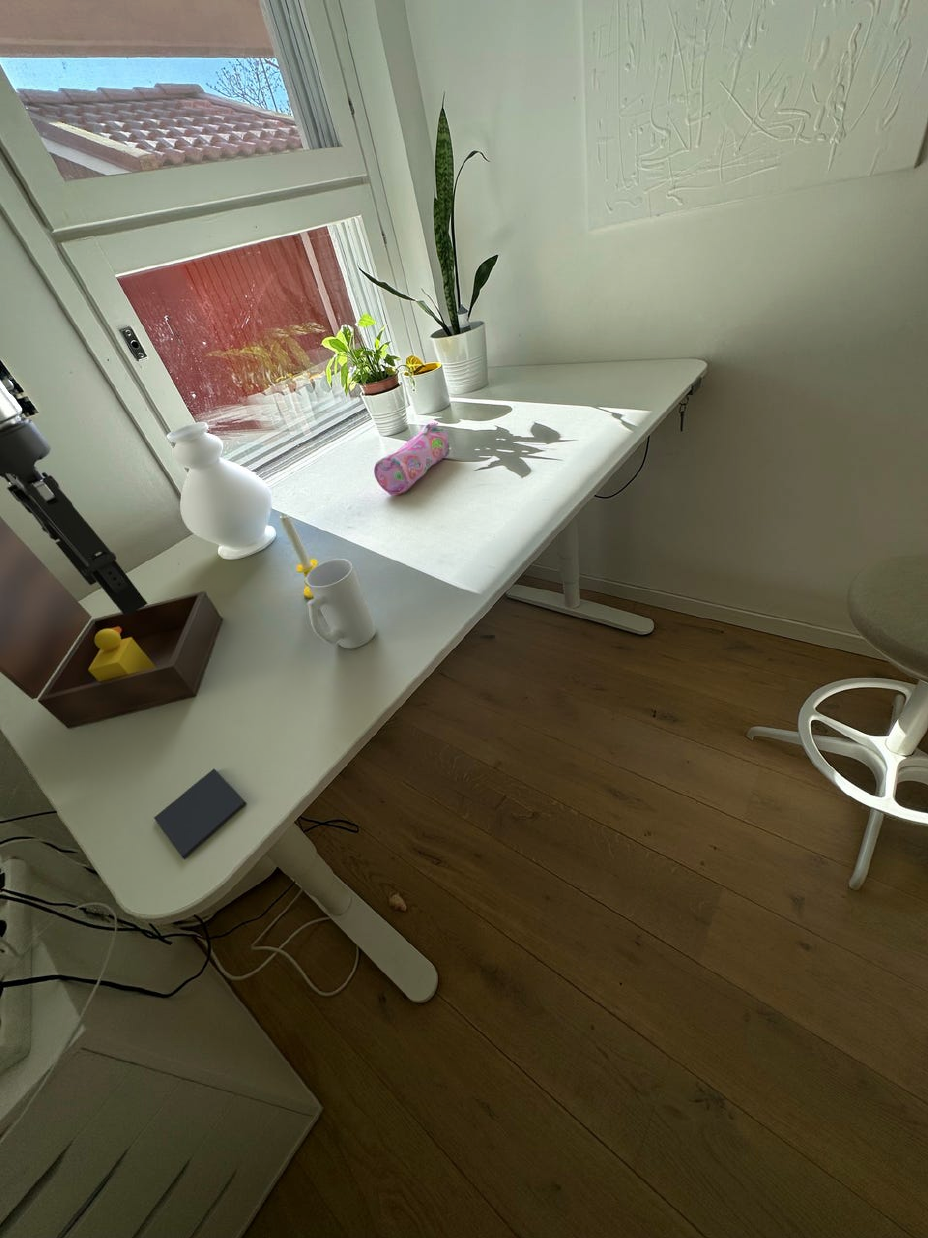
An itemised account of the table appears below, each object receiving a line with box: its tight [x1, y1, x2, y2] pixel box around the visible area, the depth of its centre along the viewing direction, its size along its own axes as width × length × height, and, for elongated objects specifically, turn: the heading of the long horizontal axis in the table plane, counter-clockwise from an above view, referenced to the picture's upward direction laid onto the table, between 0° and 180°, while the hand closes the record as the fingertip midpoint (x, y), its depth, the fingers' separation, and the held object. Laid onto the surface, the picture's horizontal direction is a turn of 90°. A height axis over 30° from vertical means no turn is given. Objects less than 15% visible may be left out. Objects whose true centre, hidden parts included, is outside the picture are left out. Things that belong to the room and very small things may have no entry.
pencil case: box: [373, 422, 451, 496], centre depth 119 cm, size 21×9×9 cm, turn 151°
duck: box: [88, 626, 155, 681], centre depth 77 cm, size 4×7×10 cm, turn 9°
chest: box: [37, 590, 224, 729], centre depth 82 cm, size 20×19×6 cm
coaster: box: [153, 768, 247, 860], centre depth 61 cm, size 8×8×1 cm
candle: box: [278, 513, 319, 600], centre depth 88 cm, size 5×5×16 cm
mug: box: [305, 558, 377, 649], centre depth 76 cm, size 10×7×12 cm, turn 156°
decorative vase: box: [166, 421, 277, 560], centre depth 105 cm, size 18×18×25 cm
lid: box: [0, 516, 93, 700], centre depth 74 cm, size 21×19×1 cm
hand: (116, 593), depth 66 cm, fingers open, 13 cm apart
